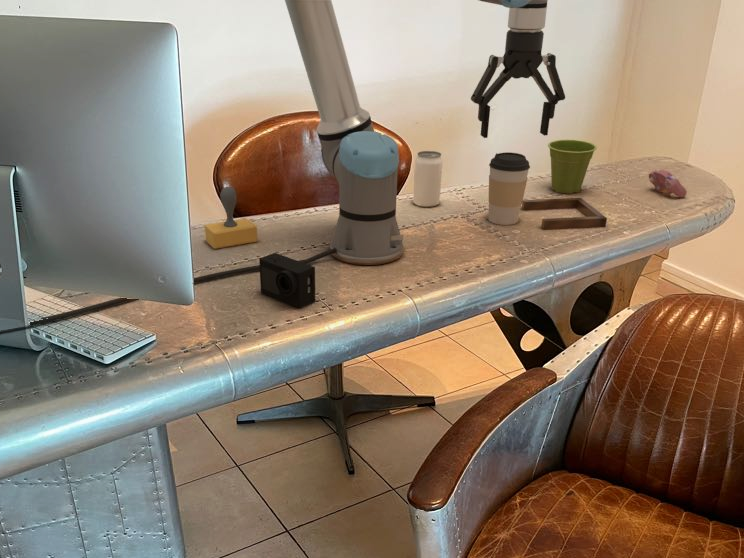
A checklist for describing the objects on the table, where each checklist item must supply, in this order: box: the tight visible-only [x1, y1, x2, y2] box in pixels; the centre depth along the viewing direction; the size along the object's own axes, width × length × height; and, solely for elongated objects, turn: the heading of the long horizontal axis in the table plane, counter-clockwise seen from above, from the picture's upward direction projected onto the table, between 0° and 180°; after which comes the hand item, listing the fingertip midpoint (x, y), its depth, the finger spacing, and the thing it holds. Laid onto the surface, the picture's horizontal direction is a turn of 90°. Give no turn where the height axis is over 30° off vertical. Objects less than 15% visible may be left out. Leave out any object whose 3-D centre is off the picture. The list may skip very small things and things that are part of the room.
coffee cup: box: [487, 151, 531, 226], centre depth 184 cm, size 9×9×15 cm
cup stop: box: [521, 197, 608, 230], centre depth 189 cm, size 15×15×2 cm
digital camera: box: [258, 252, 316, 309], centre depth 149 cm, size 10×5×7 cm, turn 47°
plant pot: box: [547, 139, 598, 195], centre depth 204 cm, size 12×12×11 cm
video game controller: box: [648, 168, 688, 199], centre depth 204 cm, size 10×5×7 cm, turn 17°
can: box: [412, 150, 443, 208], centre depth 195 cm, size 6×6×12 cm
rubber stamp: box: [204, 186, 258, 250], centre depth 172 cm, size 10×6×12 cm, turn 117°
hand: (513, 135), depth 178 cm, fingers open, 13 cm apart
